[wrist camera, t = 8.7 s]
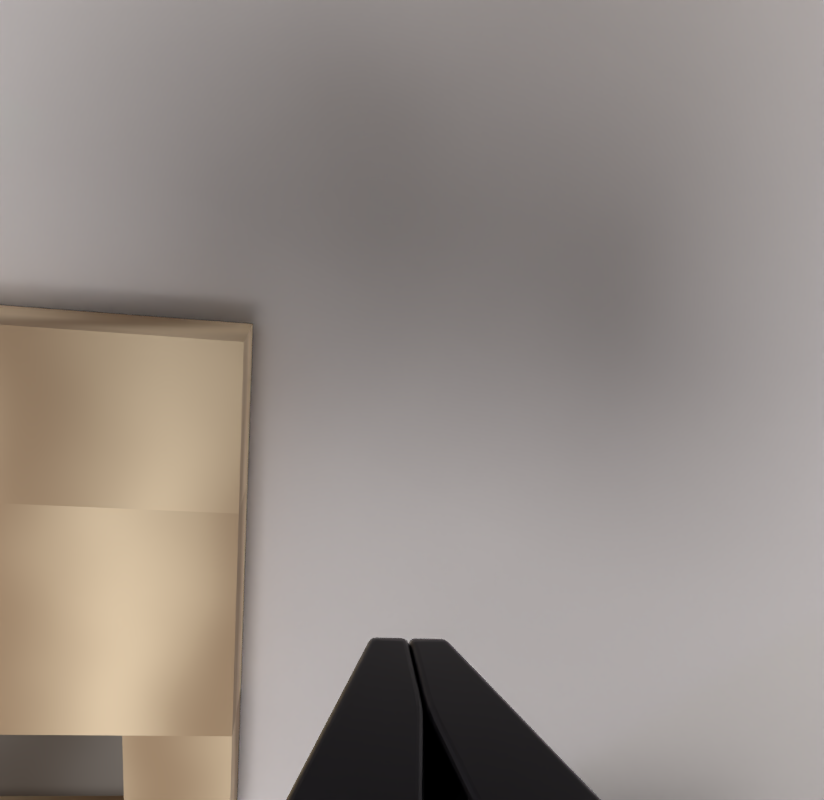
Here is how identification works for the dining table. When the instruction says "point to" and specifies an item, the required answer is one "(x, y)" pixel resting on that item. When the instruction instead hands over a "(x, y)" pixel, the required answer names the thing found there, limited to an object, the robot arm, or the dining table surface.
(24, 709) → the trap box
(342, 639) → the dining table surface
